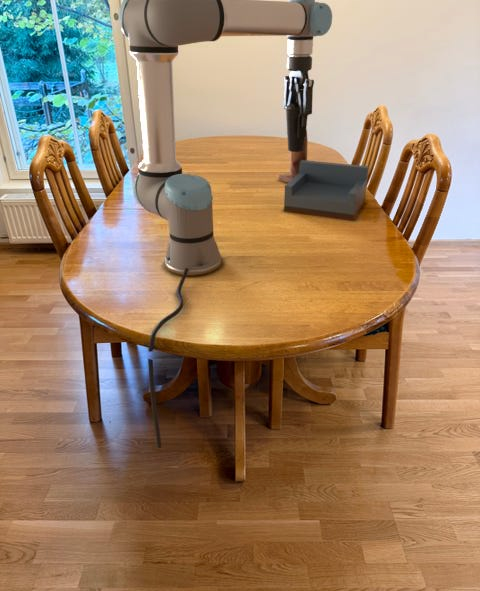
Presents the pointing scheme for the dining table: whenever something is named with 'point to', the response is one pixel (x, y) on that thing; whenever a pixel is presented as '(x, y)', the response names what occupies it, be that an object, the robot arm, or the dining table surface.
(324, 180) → the sofa
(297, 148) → the drinking cup
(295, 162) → the bird sculpture
